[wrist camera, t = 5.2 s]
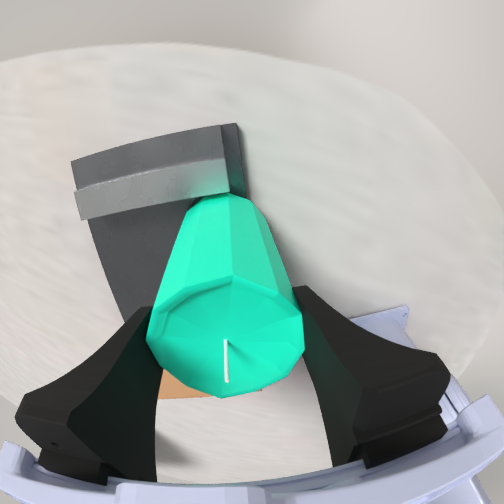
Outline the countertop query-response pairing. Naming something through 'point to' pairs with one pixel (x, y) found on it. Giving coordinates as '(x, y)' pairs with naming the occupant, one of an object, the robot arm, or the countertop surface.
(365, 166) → the countertop surface
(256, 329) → the candle
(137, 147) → the dark grey flat block
